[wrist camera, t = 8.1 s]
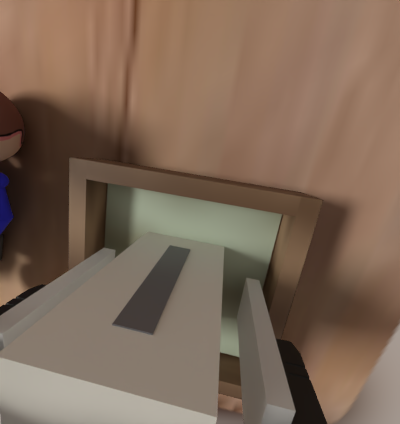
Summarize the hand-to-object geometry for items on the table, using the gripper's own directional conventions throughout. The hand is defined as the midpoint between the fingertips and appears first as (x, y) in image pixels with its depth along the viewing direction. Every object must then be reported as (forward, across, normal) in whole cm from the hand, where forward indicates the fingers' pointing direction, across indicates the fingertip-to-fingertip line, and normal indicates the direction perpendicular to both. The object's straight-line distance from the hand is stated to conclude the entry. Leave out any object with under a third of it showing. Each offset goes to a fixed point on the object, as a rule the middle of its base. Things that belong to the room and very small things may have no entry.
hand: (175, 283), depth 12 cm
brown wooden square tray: (+2, 0, 0) cm, 2 cm away
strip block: (+1, 0, 0) cm, 1 cm away
